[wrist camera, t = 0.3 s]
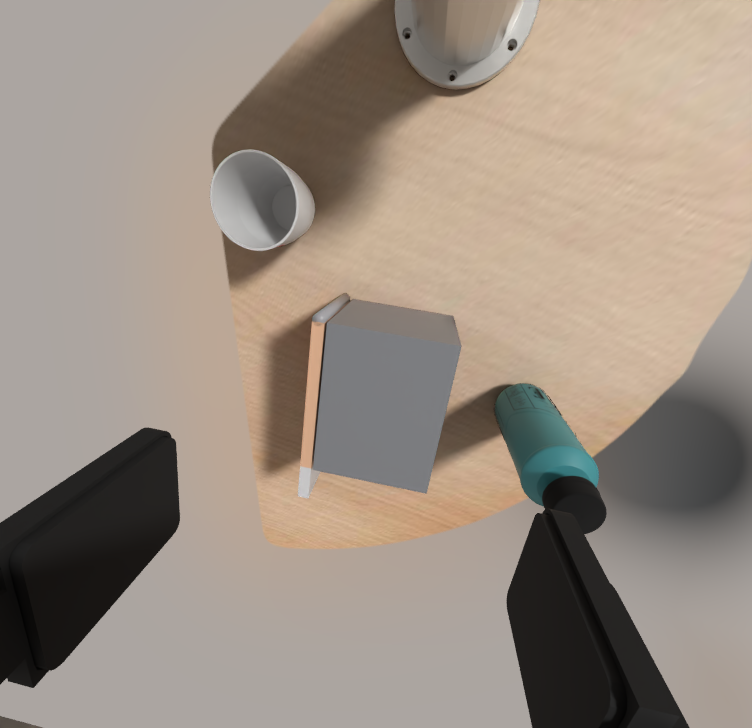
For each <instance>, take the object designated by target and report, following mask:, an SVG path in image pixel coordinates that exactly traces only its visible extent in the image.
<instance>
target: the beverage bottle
mask: <svg viewBox="0 0 752 728" xmlns="http://www.w3.org/2000/svg"><path fill="white" fill-rule="evenodd" d="M543 391H544V390H543ZM543 391H542V390H541V389H540V388H538V387H536V386H535V385H534V386H533V385H530V384H515V385H512V386H510V387H508V388H506V389H505V390H503V391H502V392H501V393H500V395H499V396H498V398H497V400H496V404H495V414H494V415H496V416H495V417H497V419H496V418H495V419H496V420H498V422H497V423H499V424H498V426H500V427H499V428H500V430H501V432H502V435H503V439H504V440H505V442H506V444H507V447H508V450H509V452H510V454H511V456H512V459H513V462H514V464H515V467H516V470H517V472H518V475H519V478H520V482H521V485H522V488H523V490H524V492H525V493H526V495H527V496H528V497H529V498H530V499H531V500H532V501H534V502H535V503H537V504H539V505H541V506H544V508H545V509H552V510H557V511H562V512H567V513H571V514H573V515H574V517H575V518H576V520H577V522H578V524H579V526H580V528H581V529H582V531H583V533H584V534H587V533H590V532H593V531H595V530H596V529H598V528H599V527H600V526H601V525H602V523H603V522H604V521H605V518H606V507H605V505H604V502H603V500H602V498H601V496H600V493H599V491H598V490H597V488H596V486H597V484H598V478H599V475H598V474H599V472H598V468H597V465H596V463H595V462H594V460H593V459H592V457H591V456H590V455H589V454H588V453H587V452H586V450H585V449H584V448H583V446H582V444H580V442H579V441H578V439H577V438H576V436H575V435H574V433H573V432H572V430H571V429H570V428H569V426H568V425H567V423H566V421H564V419H563V418H562V417H561V414H560V411H558V409H557V408H556V406H555V404H554V403H553V402H551V401H552V400H551V399H550V400H551V401H550V400H549V399H548V397H549V396H548V395H547V396H548V397H547V396H546V395H545V394H546V393H544V392H543ZM552 403H553V404H554V406H555V407H554V406H553V404H552ZM556 409H557V410H556ZM574 432H575V431H574ZM575 434H576V433H575ZM509 452H508V453H509Z"/></svg>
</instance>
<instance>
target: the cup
mask: <svg viewBox="0 0 752 728" xmlns="http://www.w3.org/2000/svg"><path fill="white" fill-rule="evenodd" d="M210 202H211V207H212V212H213V214H214V217H215V220H216V222H217V224H218V225H219V227H220V228H221V230H222V231H223V232H224V234H225V235H226V236H227V237H228V238H229V239H230V240H232V241H233V242H234V243H236V244H237V245H239V246H241V247H243V248H246V249H249V250H255V251H263V250H269V249H272V248H276V247H280V246H283V245H287V244H289V243H291V242H293V241H295V240H296V239H298V238H299V237H300V236H302V235H303V234H305V233H306V232H307V230H308V229H309V228H310V226H311V224H312V222H313V219H314V215H315V203H314V199H313V196H312V193H311V191H310V189H309V188H308V186H307V185H306V184H305V183H304V182H303V180H302V179H301V178H300V177H299V176H298V174H297V173H296V172H294V171H293V170H292V169H291V168H289V167H288V166H286V165H285V164H283V163H282V162H280V161H279V160H277V159H276V158H274V157H273V156H271V155H269V154H267V153H265V152H262V151H259V150H252V149H248V150H241V151H237V152H235V153H233V154H231V155H229V156H228V157H227V158H225V159H224V160H223V161H222V162H221V163H220V165H219V166H218V168H217V169H216V171H215V173H214V176H213V178H212V182H211V187H210Z"/></svg>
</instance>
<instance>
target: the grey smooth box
mask: <svg viewBox="0 0 752 728" xmlns="http://www.w3.org/2000/svg"><path fill="white" fill-rule="evenodd" d="M460 350H461V343H460V339H459V335H458V332H457V328H456V324H455V320H454V317H453V316H450V315H444V314H438V313H433V312H427V311H421V310H415V309H409V308H403V307H397V306H391V305H385V304H380V303H374V302H368V301H362V300H356V299H353V300H352V301H350V302H349V303H348V304H347V305H346V306H345V307H344V308H343V309H342V310H341V311H339V312H338V313H337V314H336V315H335V316H334V317H333V318H332V319H331V320H329V321H328V322H327V329H326V339H325V349H324V360H323V370H322V380H321V391H320V401H319V412H318V422H317V432H316V443H315V453H314V464H313V470H316V471H321V472H326V473H330V474H335V475H340V476H345V477H350V478H354V479H359V480H364V481H369V482H374V483H378V484H383V485H388V486H393V487H397V488H402V489H407V490H412V491H417V492H421V493H426V494H427V489H428V485H429V481H430V477H431V472H432V468H433V464H434V460H435V456H436V451H437V447H438V443H439V439H440V434H441V430H442V426H443V422H444V418H445V413H446V409H447V405H448V401H449V397H450V392H451V388H452V384H453V380H454V375H455V371H456V367H457V363H458V359H459V354H460Z"/></svg>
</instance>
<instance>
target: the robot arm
mask: <svg viewBox="0 0 752 728" xmlns="http://www.w3.org/2000/svg"><path fill="white" fill-rule="evenodd" d="M539 3H540V0H395V20H396V28H397V33H398V38H399V41H400V44H401V47H402V50H403V52H404V54H405V56H406V58H407V59H408V61H409V63H410V65H411V66H412V67H413V68H414V69H415V70H416V71H417V73H418V74H419V75H420V76H422V77H423V78H425V79H426V80H427V81H429V82H430V83H432V84H435V85H437V86H439V87H442V88H448V89H467V88H471V87H475V86H478V85H481V84H483V83H485V82H487V81H489V80H491V79H492V78H494V77H495V76H496V75H498V74H499V73H500V72H502V71H503V70H504V69H505V68H506V67H507V66H508V65H509V64H510V63H511V62H512V61H513V59H514V58H515V57H516V55H517V54H518V52H519V51H520V49H521V48H522V47H523V45H524V43H525V41H526V39H527V37H528V35H529V34H530V31H531V29H532V26H533V24H534V21H535V18H536V15H537V11H538V7H539ZM406 35H410V38H409V39H405V36H406ZM509 46H511V47H513V50H512V51H510V50H508V47H509ZM451 76H453V77H454V78H455V80H454V81H450V79H449V78H450V77H451ZM178 494H179V492H178V472H177V453H176V442H175V440H174V439H173V438H171V435H170V433H169V432H167V431H162V430H157V429H152V428H143V429H141V430H140V431H138V432H137V433H135V434H134V435H132V436H131V437H129V438H128V439H126V440H125V441H123V442H122V443H120V444H118V445H117V446H116V447H114V448H112V449H111V450H110V451H108V452H106V453H105V454H103V455H102V456H100V457H99V458H97V459H96V460H94V461H93V462H91V463H90V464H88V465H87V466H85V467H84V468H82V469H81V470H79V471H78V472H76V473H75V474H73V475H72V476H70V477H69V478H67V479H66V480H65V481H63V482H61V483H60V484H58V485H57V486H55V487H54V488H52V489H51V490H49V491H48V492H46V493H45V494H43V495H42V496H40V497H39V498H37V499H36V500H34V501H33V502H31V503H30V504H28V505H27V506H25V507H24V508H22V509H21V510H19V511H18V512H16V513H14V514H13V515H12V516H10V517H8V518H7V519H5V520H4V521H3V522H1V523H0V684H1V683H2V682H3V681H4V680H5V679H6V678H8V681H10V682H13V683H17V684H20V685H24V686H28V687H31V688H34V687H35V686H36V684H37V683H38V682H39V681H40V680H41V679H42V678H43V677H44V675H45V674H46V673H47V672H48V671H49V670H54V669H56V668H57V667H58V666H60V665H61V664H62V663H63V662H64V661H65V660H66V658H67V657H68V656H69V655H70V654H71V653H72V651H73V650H74V649H75V648H76V647H77V646H78V645H79V643H80V642H81V641H82V640H83V639H84V638H85V636H86V635H87V634H88V633H89V632H90V631H91V629H92V628H93V627H94V626H95V625H96V624H97V622H98V621H99V620H100V619H101V618H102V617H103V616H104V614H105V613H106V612H107V611H108V610H109V609H110V607H111V606H112V605H113V604H114V603H115V602H116V600H117V599H118V598H119V597H120V596H121V595H122V593H123V592H124V591H125V590H126V589H127V588H128V587H129V585H130V584H131V583H132V582H133V581H134V580H135V578H136V577H137V576H138V575H139V574H140V573H141V571H142V570H143V569H144V568H145V567H146V566H147V565H148V563H149V562H150V561H151V560H152V559H153V558H154V556H155V555H156V554H157V553H158V551H160V549H161V548H162V547H163V546H164V545H165V544H166V543H167V541H168V540H169V539H170V538H171V537H172V535H173V534H174V533H175V532H176V530H177V528H178V525H179V521H180V512H179V495H178ZM507 610H508V615H509V620H510V624H511V629H512V633H513V638H514V643H515V648H516V653H517V657H518V661H519V667H520V671H521V676H522V681H523V686H524V690H525V695H526V699H527V704H528V709H529V714H530V718H531V723H532V728H689V726H688V724H687V723H686V720H685V718H684V717H683V715H682V713H681V711H680V709H679V707H678V705H677V704H676V702H675V700H674V698H673V696H672V694H671V692H670V690H669V689H668V687H667V685H666V683H665V681H664V679H663V678H662V675H661V674H660V672H659V670H658V668H657V666H656V664H655V663H654V660H653V659H652V657H651V655H650V653H649V651H648V649H647V647H646V645H645V644H644V642H643V640H642V638H641V636H640V634H639V632H638V631H637V629H636V627H635V625H634V623H633V621H632V619H631V617H630V615H629V614H628V612H627V610H626V608H625V606H624V604H623V602H622V601H621V599H620V597H619V595H618V593H617V591H616V590H615V588H614V587H613V586H612V585H611V584H610V583H609V581H608V579H607V577H606V575H605V573H604V571H603V569H602V567H601V566H600V564H599V562H598V560H597V558H596V556H595V554H594V552H593V550H592V548H591V547H590V545H589V543H588V541H587V539H586V537H585V535H584V533H583V531H582V529H581V528H580V526H579V524H578V522H577V520H576V518H575V517H574V515H573V514H571V513H567V512H562V511H557V510H552V509H545V510H544V511H543V513H542V514H540V513H537V514H536V515H535V517H534V520H533V523H532V526H531V528H530V531H529V534H528V537H527V540H526V542H525V545H524V548H523V551H522V554H521V556H520V559H519V562H518V565H517V568H516V570H515V574H514V576H513V579H512V582H511V584H510V587H509V590H508V594H507ZM0 728H42V727H38V726H34V725H31V724H27V723H24V722H20V721H16V720H13V719H9V718H5V717H1V716H0Z"/></svg>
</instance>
